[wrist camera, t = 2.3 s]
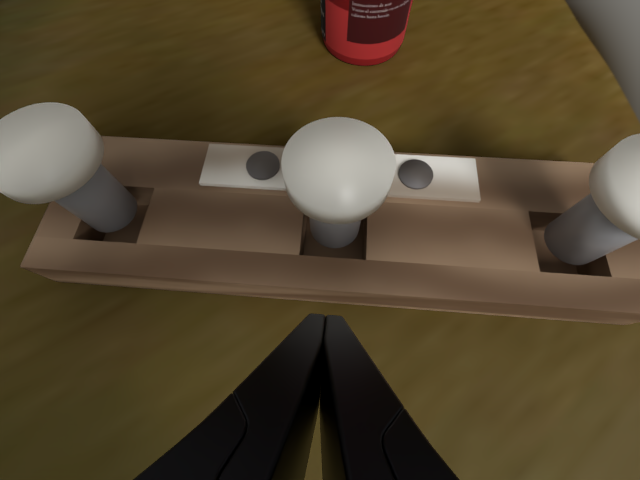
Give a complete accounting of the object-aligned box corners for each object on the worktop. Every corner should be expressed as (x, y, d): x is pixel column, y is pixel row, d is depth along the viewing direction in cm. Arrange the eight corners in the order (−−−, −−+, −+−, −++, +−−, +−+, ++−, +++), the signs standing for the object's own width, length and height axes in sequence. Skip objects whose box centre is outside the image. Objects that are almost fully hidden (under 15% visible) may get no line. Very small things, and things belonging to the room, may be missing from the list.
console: (624, 325, 21) (678, 313, 18) (56, 281, 23) (12, 264, 19) (586, 189, 25) (624, 159, 22) (106, 160, 27) (76, 129, 24)
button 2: (139, 250, 20) (63, 193, 14) (59, 244, 20) (-49, 186, 14) (162, 180, 22) (103, 105, 16) (89, 175, 22) (4, 100, 16)
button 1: (626, 285, 19) (762, 238, 13) (534, 278, 19) (628, 229, 13) (603, 207, 21) (712, 136, 15) (520, 202, 21) (595, 129, 15)
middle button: (375, 267, 19) (396, 215, 14) (289, 261, 20) (274, 207, 14) (376, 193, 21) (395, 119, 16) (298, 188, 22) (288, 114, 16)
